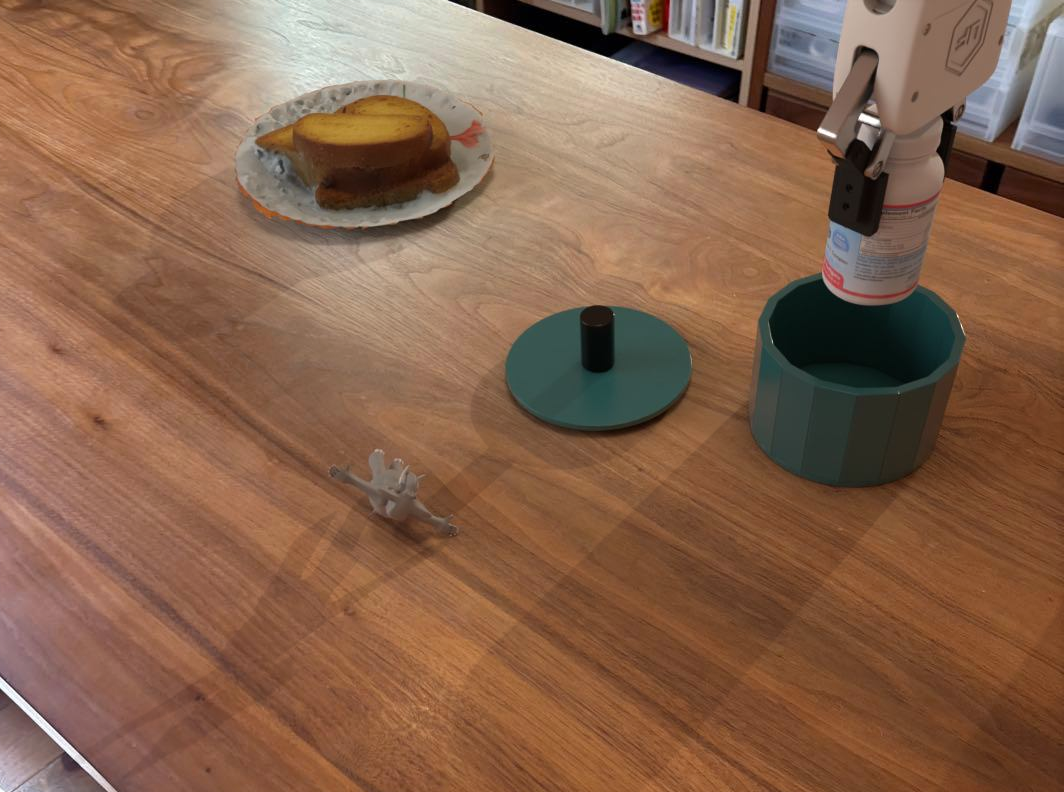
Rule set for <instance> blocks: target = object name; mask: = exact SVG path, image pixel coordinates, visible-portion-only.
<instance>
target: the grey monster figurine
mask: <svg viewBox="0 0 1064 792" xmlns="http://www.w3.org/2000/svg"><path fill="white" fill-rule="evenodd" d="M385 454H386V453H385V452H384V451H383V449H379V448H376V449H374V450H373V451H372V452H371V453H370V455H369V457H368V468H369V469H370V471H371V473H372V478H371V480H370V481H366V480H364V479H362V478H360V477H358V476H356V475H355V474H354V473H353V472H352V471H351V469H350V466H351V465H350V460H347V461H346V465H345V468H344V469H343V468H341V467H339V466H337V465H336V464H335V463H331V464H332V465H331V466H328V469H327V473H328V476H329V478H330V477H331V478H333V479H335V480H336V481H338V482H340V483H342V484H346V485H347V484H348V485H350V486H353V487H354V488H356V489H358V491H360V492H362V493H363V494H365V495H366V496H368V501H369V503H370V505H371V506H372V507H373V510H372V511H371V512H370V513H369V514H368V515H367V518H369V519H370V518H372V517H373V516H375V515H377V514H379V515H381V516H382V517H385V518H387V519H392V520H395V521H398V522H402V521H405V520H406V519H408V520H409V519H411V520H414V521H417V522H419V523H423V524H427V525H429V526H431V527H433V528H434V529H435V530H436V531H437V532H439V533H441V534H445V535H447V536H450V537H452V536H456V535H457V534H458V533H459V529H460V527H459V526H457V525H454V524H452V523H450V522H451V520H452V519H453V518H454V514H453V513H452V514H450V515H448V516H446V517H438V516H436V515H433V514H432V512H430V511H429V510H428V509H427V508H426V506H425V505H424V504H423V503H421V502H420V501H419V500H417V497H418V496H417V495H418V494H417V493H418V488H419V484H420V483H421V481H422V480H423V479H425V478H426V477H427V474H422V475H419V476H417V475H416V473H414V472H412V471H410V469H411V467H412V466H411V465H410V464H408V465H406V467H405V468H404V464H405V463H404V461H403V460H402V459H401V458H394V459H393V460H392V461H391V462H390V463H389V464H388V467H387V466H386V461H385V456H386V455H385Z"/></svg>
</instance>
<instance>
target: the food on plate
mask: <svg viewBox="0 0 1064 792" xmlns="http://www.w3.org/2000/svg"><path fill="white" fill-rule="evenodd" d="M483 116H484V114H483V112H482V111H480V110H478V109H477V108H476V107H475V106H474V105H473V104H471V103H469V102H467V101H462V100H461V99H460V98H458V97H456V96H454V95H453V94H452V93H449V92H447V91H444V90H441V89H439V88H437V87H435V86H433V85H430V84H425V83H423V84H421V83H418V82H414V81H408V80H401V79H399V80H398V79H393V78H391V79H371V80H360V81H358V80H354V81H352V82H348V83H343V84H334V85H327V86H323V87H322V88H320V89H316V90H313V91H311V92H304V93H302V94H300V95H298V96H296V97H294V98H292V99H291V98H290V99H289V100H287V101H284V102H283V103H280V104H277V105H274V106H273V107H271V108H270V110H269V111H268V112H266V113H264V114H262V115H260V116H257V117H256V118H254V123H253V125H251V126H250V127H249V128H248V129H247V130H246V131H245V132H244V134H243V135H244V136H243V140H241V141H240V142H239V143H238V145H237V146H236V151H235V154H234V162H235V165H234V171H235V175H236V177H235V181H237V186H238V189H239V190H240V191H241V192H242V194H243V196H244V197H248V198H249V199H251V201H252V204H253V207H254V209H255V210H257V211H258V212H259V213H261V214H263V215H264V217H265V218H266V219H269V220H272V217H276V216H277V217H278V218H279V219H280V220H282V221H296V224H297V225H300V224H303V225H306V226H312V227H319V228H321V229H323V230H327V229H329V230H330V229H338V228H340V227H341V228H343V229H345V230H349V231H351V230H353V229H357V228H359V227H361V231H363V230H365V229H367V228H369V227H370V228H371V227H379V226H386V225H387V226H393V225H397V224H399V222H403V221H408V220H414V219H417V220H419V219H424V217H425V216H429V215H431V214H434V213H437V212H438V211H439V210H440V209H443V208H447V207H449V206H451V205H452V204H453V201H456V200H457V199H459V198H460V197H462V196H463V195H465V194H467V193H468V192H470V191H473V188H474V187H475V186H477V185H479V184H482V183H483V181H484V180H485V177H486V175H487V174H489V171H490V170H491V169H492V168H493V166H494V162H495V160H496V157H495V156H494V147H493V146H492V142H493V138H492V137H491V136H490V134H489V130H488V128H487V126H486V124H485V122H484V121H483V118H482V117H483ZM483 155H488V157H487V158H486V159H483V158H482V157H481V156H483Z"/></svg>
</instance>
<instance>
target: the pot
mask: <svg viewBox="0 0 1064 792" xmlns="http://www.w3.org/2000/svg"><path fill="white" fill-rule="evenodd" d="M756 326H757V327H756V334H755V335H756V336H755V344H754V352H753V353H754V354H753V359H752V370H751V379H750V386H749V387H750V388H749V395H748V396H749V397H748V406H747V409H748V421H749V422H748V423H749V428H750V431H751V434H752V436H753V438H754V440H755V442H756V443H757V445H758V447H759V448H760V449H761V450H762V452H763V453H764V454H765V455H766V456H767V457H768V458H769V459H770V460H772V461H773V462H774V463H775V464H777V465H778V466H780V467H781V468H783V469H784V470H786V471H788V472H789V473H792V474H794V475H796V476H799V477H800V478H803V479H806V480H808V481H812V482H815V483H818V484H823V485H827V486H828V485H829V486H835V487H842V488H843V487H844V488H861V487H872V486H879V485H884V484H887V483H891V482H894V481H896V480H899V479H901V478H904V477H905V476H908V475H910V474H911V473H913V472H914V471H916V470H918V468H920V467H921V466H922V465H923V464H924V463H925V462H926V461H927V460H928V459H929V457H930V455H932V453H933V451H934V450H935V448H936V444H937V441H938V437H939V435H940V434H939V433H940V430H941V427H942V423H943V421H944V417H945V414H946V411H947V406H948V403H949V400H950V396H951V393H952V389H953V386H954V383H955V380H956V377H957V372H958V369H959V365H960V362H961V358H962V355H963V352H964V348H965V344H966V341H967V336H966V333H965V330H964V327H963V325H962V321H961V320H960V317H959V315H958V313H957V311H956V310H955V309H954V308H953V307H952V306H950V305H949V304H948V303H947V302H946V301H945V300H944V299H943V298H942V297H941V296H939V294H937V293H936V292H935V291H933V290H932V289H929V288H927V287H926V286H925V287H924V286H922V285H921V284H919V283H918V284H917V287H916V288H915V290H914V291H913V292H912V293H911V294H910V295H909V296H908V297H906V298H905V299H903V300H901V301H899V302H896V303H892V304H886V305H859V304H854V303H851V302H848V301H845V300H843V299H841V298H839V297H838V296H836V295H835V294H833V293H832V292H831V291H830V290H829V289H828V287H827V286H826V284H825V283H824V280H823V276H822V271H820V272H817V273H815V274H814V273H813V274H811V275H808V276H804V277H801V278H798V279H794V280H792V281H791V282H789V283H788V284H786V285H785V286H783V287H782V288H781V289H779V290H778V291H776V292H775V293H773V294H772V295H771V296H769V298H768V299H767V301H766V302H765V305H764V307H763V309H762V311H761V313H760V315H759V318H758V320H757V325H756Z"/></svg>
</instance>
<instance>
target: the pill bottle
mask: <svg viewBox="0 0 1064 792" xmlns="http://www.w3.org/2000/svg"><path fill="white" fill-rule="evenodd" d="M866 109H867V110H870V111H873V112H875V113H878V111H877V106H876V103H874V104H871V105H870V106H867V107H866ZM942 128H943V120H942V118H941V116H940V115H939V116H937V117H936V118H934V119H933V120H931V121H930V122H928V123H927V124H925V125H924V126H922V127H920V128H919V129H917V130H915V131H913V132H911V133H909V134H907V135H902V136H900V135H896V137H895V140H894V143H893V145H892V148H891V150H890V153H889V155H888V158H887V161H886V163H885V166H884V168H883V172H885V173H888V174H889V178H888V183H887V188H886V193H885V198H884V203H883V208H882V213H881V218H880V223H879V228H878V231H877V232H876V233H875V234H874V235H872V236H871V237H866V236H864V235H861V234H859V233H857V232H855V231H852V230H850V229H848V228H846V227H843V226H841V225H839V224H837V223H834V222H832V221H831V220H830V219H829V227H828V232H827V239H826V243H825V244H826V245H825V250H824V256H823V262H822V269H821V272H822V276H823V280H824V283H825V284H826V286H827V287H828V289H829V290H830V291H831V292H832V293H833V294H835V295H836V296H838V297H839V298H841V299H843V300H845V301H848V302H851V303H854V304H859V305H886V304H892V303H896V302H899V301H901V300H903V299H905V298H906V297H908V296H909V295H910V294H911V293H912V292H913V291H914V290H915V288H916V287H917V284H918V285H919V282H920V279H921V274H922V269H923V265H924V261H925V257H926V253H927V250H928V245H929V241H930V237H931V234H932V233H931V232H932V228H933V224H934V221H935V218H936V217H935V216H936V213H937V208H938V204H939V201H940V196H941V192H942V188H943V184H944V183H943V179H944V166H943V162H942V160H941V158H940V156H939V155H938V154H937V152H936V150H937V147H938V146H939V144H940V140H941V138H940V137H941V133H942ZM878 132H879V130H878V129H876V128H873V127H870V126H868V125H865V124H863V123H862V126H861V129H860V131H859V134H858V137H857V138H858V139H859V140H861V141H864V142H865V144H866V145H867V146H868V147H869V149H870V150H872V148H873V145H874V142H875V140H876V137H877V135H878Z"/></svg>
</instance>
